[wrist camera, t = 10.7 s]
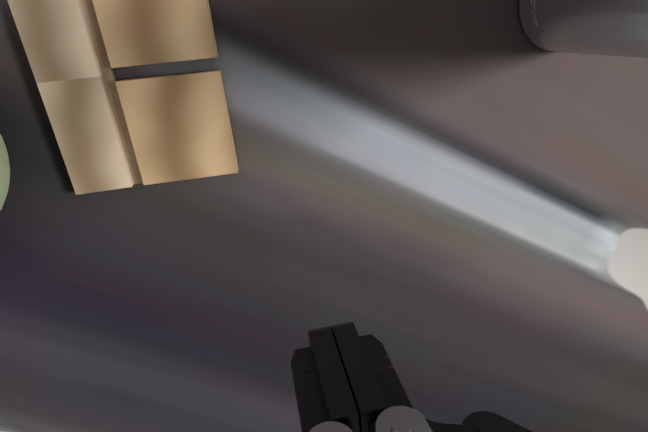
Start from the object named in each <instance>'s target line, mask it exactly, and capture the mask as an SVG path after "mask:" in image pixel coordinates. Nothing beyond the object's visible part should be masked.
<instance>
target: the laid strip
mask: <svg viewBox="0 0 648 432" xmlns="http://www.w3.org/2000/svg"><path fill="white" fill-rule="evenodd" d="M7 1H8V4H9V7H10V10H11V12H12V15H13V18H14V21H15V24H16V27H17V29H18V32H19V35H20V38H21V41H22V43H23V46H24V49H25V52H26V55H27V58H28V60H29V63H30V66H31V69H32V72H33V75H34V77H35V80H36V83H37V86H38V89H39V92H40V94H41V97H42V100H43V103H44V106H45V109H46V111H47V114H48V117H49V120H50V123H51V126H52V128H53V131H54V134H55V137H56V140H57V143H58V145H59V148H60V151H61V154H62V157H63V160H64V162H65V165H66V168H67V171H68V174H69V176H70V179H71V182H72V185H73V188H74V191H75V193H76V195H78V194H85V193H92V192H99V191H106V190H113V189H120V188H127V187H132V186H133V185H134V184H139V183H143V181H142V177H141V173H140V170H139V166H138V163H137V159H136V155H135V152H134V148H133V145H132V141H131V138H130V134H129V130H128V127H127V123H126V120H125V116H124V112H123V109H122V105H121V102H120V98H119V95H118V91H117V87H116V84H115V82H116V79H115V75H114V72H113V68H111V66H110V62H109V59H108V55H107V52H106V48H105V45H104V41H103V37H102V34H101V30H100V27H99V23H98V20H97V16H96V12H95V9H94V5H93V2H92V0H7Z"/></svg>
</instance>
